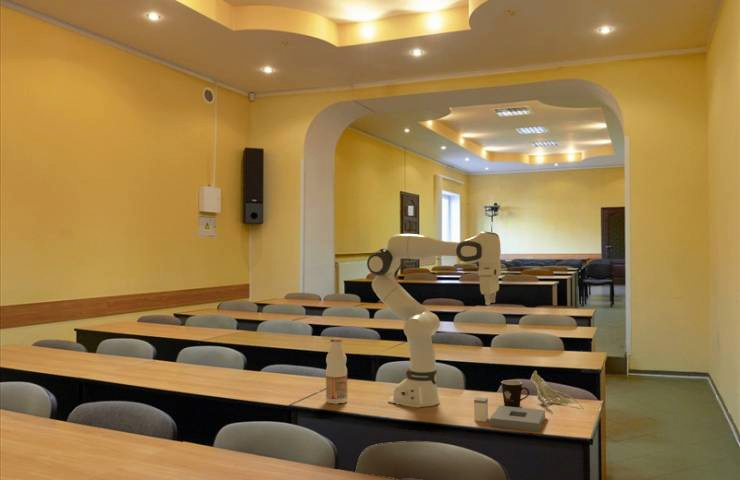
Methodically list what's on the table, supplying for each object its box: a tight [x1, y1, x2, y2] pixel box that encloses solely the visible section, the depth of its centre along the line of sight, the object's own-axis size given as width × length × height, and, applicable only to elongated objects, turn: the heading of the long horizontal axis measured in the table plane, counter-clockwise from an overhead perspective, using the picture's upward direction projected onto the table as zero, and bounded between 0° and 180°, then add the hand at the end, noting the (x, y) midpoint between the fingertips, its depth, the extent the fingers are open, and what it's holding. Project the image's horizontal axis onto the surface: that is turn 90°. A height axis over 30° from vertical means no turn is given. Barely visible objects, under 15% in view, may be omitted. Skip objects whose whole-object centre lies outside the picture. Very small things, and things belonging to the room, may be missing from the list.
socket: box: [489, 405, 546, 433], centre depth 222 cm, size 18×18×3 cm
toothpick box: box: [473, 396, 489, 423], centre depth 226 cm, size 4×4×8 cm
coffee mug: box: [500, 379, 530, 408], centre depth 243 cm, size 12×9×10 cm
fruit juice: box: [325, 337, 348, 405], centre depth 255 cm, size 9×9×28 cm
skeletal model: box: [530, 370, 584, 414], centre depth 246 cm, size 16×9×25 cm
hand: (490, 303), depth 238 cm, fingers open, 8 cm apart
